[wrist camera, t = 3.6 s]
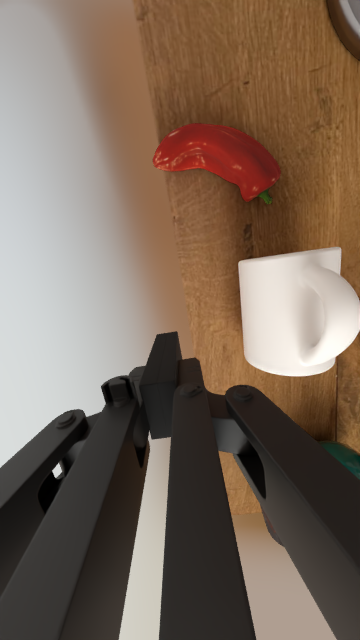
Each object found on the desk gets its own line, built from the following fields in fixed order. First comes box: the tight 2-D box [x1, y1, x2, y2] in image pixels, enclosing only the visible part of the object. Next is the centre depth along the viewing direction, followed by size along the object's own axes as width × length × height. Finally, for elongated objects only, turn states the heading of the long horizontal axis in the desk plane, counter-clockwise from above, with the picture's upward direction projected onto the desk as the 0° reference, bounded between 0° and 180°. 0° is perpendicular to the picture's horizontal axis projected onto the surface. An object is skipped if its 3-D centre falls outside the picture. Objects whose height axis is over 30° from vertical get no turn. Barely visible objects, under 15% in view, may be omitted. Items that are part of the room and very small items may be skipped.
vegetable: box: [153, 123, 281, 204], centre depth 19 cm, size 4×5×12 cm
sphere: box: [318, 440, 360, 480], centre depth 25 cm, size 8×8×8 cm
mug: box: [238, 247, 360, 376], centre depth 18 cm, size 8×10×12 cm
